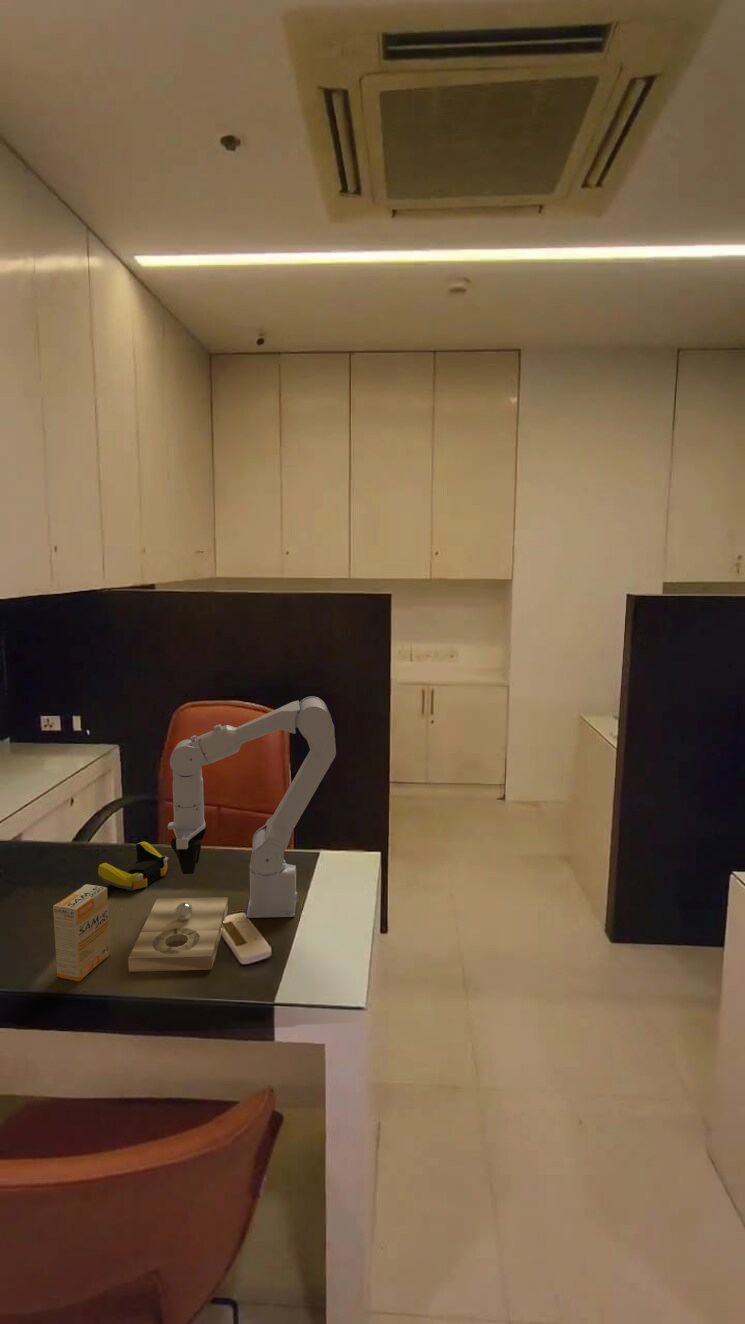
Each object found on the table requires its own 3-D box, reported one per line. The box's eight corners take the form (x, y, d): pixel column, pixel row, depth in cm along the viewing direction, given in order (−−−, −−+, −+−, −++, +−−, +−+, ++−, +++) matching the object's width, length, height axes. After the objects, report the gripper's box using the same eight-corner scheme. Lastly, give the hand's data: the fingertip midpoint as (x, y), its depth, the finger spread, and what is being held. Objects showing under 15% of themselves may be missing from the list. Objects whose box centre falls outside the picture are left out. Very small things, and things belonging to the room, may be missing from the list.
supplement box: (80, 983, 112) (75, 910, 110) (56, 977, 114) (51, 905, 112) (112, 955, 120) (108, 886, 118) (89, 950, 121) (85, 882, 119)
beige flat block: (157, 910, 135) (156, 898, 135) (228, 908, 136) (227, 897, 136) (128, 971, 116) (128, 958, 115) (211, 969, 117) (211, 956, 116)
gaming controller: (94, 889, 143) (131, 899, 140) (92, 865, 142) (130, 874, 139) (142, 860, 157) (177, 868, 153) (141, 838, 156) (177, 845, 152)
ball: (194, 914, 129) (194, 899, 129) (191, 923, 126) (190, 907, 125) (177, 915, 129) (177, 899, 128) (173, 924, 126) (173, 908, 125)
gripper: (175, 789, 138) (177, 852, 140) (158, 817, 124) (161, 886, 126) (210, 789, 138) (212, 851, 141) (197, 816, 124) (199, 885, 126)
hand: (190, 868), depth 133 cm, fingers open, 4 cm apart
